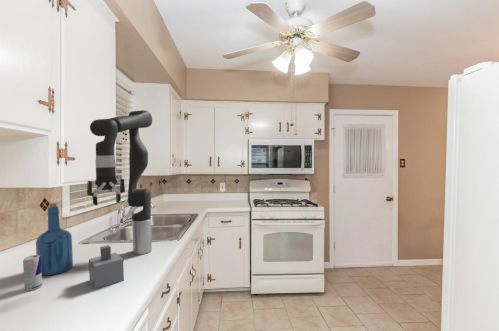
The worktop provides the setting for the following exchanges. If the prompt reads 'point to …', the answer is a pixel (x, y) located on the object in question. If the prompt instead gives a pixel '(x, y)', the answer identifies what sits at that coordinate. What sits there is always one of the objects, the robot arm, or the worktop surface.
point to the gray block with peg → (106, 268)
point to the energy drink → (32, 272)
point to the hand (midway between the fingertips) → (107, 203)
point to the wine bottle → (54, 245)
